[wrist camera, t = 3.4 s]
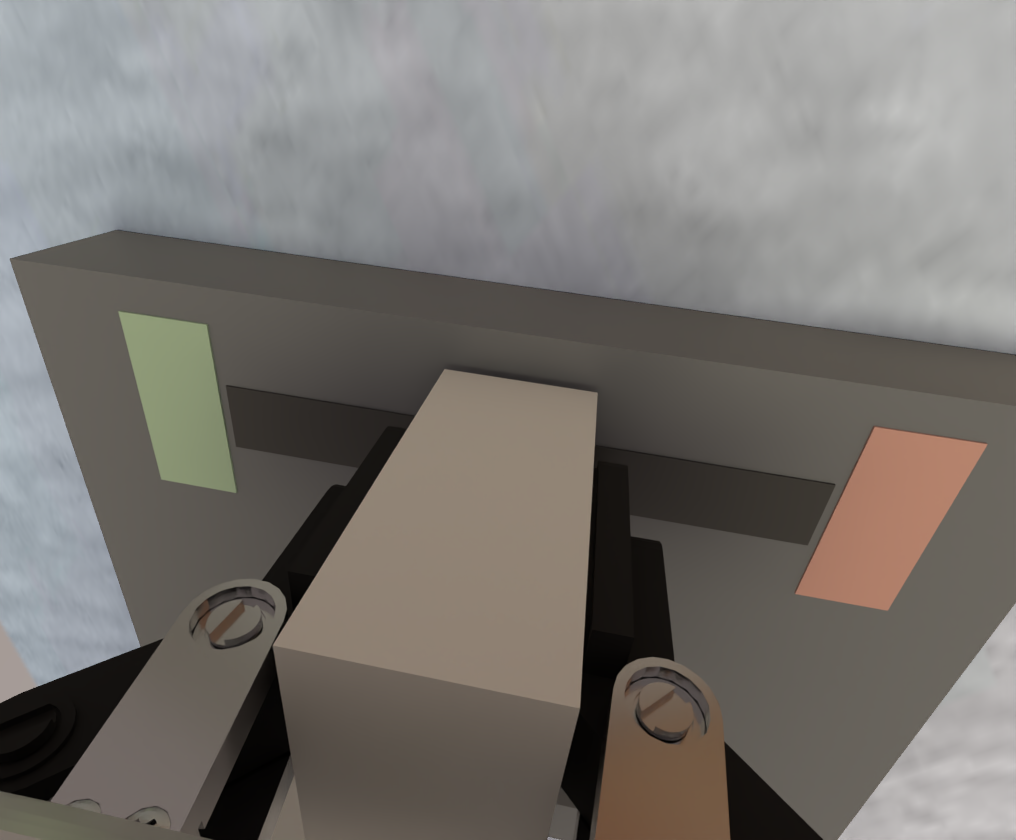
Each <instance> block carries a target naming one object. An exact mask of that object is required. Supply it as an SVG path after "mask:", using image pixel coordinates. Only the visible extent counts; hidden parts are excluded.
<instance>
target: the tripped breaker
mask: <svg viewBox="0 0 1016 840" xmlns="http://www.w3.org/2000/svg"><path fill="white" fill-rule="evenodd" d="M597 396H598V393H597V392H590V391H584V390H577V389H571V388H564V387H558V386H551V385H545V384H538V383H532V382H525V381H519V380H512V379H506V378H500V377H493V376H487V375H480V374H474V373H467V372H461V371H454V370H448V369H444V371H443V372H442V374H441V376H440V377H439V379H438V380H437V382H436V384H435V385H434V387H433V388H432V390H431V392H430V393H429V395H428V396H427V398H426V400H425V401H424V403H423V404H422V406H421V408H420V409H419V411H418V412H417V414H416V416H415V417H414V419H413V421H412V422H411V424H410V425H409V427H408V429H407V430H406V432H405V433H404V435H403V437H402V438H401V440H400V441H399V443H398V445H397V446H396V448H395V449H394V451H393V453H392V454H391V456H390V458H389V459H388V461H387V462H386V464H385V466H384V467H383V469H382V470H381V472H380V474H379V475H378V477H377V478H376V480H375V482H374V483H373V485H372V486H371V488H370V490H369V491H368V493H367V495H366V496H365V498H364V499H363V501H362V503H361V504H360V506H359V507H358V509H357V511H356V512H355V514H354V515H353V517H352V519H351V520H350V522H349V523H348V525H347V527H346V528H345V530H344V531H343V533H342V535H341V536H340V538H339V540H338V541H337V543H336V544H335V546H334V548H333V549H332V551H331V552H330V554H329V556H328V557H327V559H326V560H325V562H324V564H323V565H322V567H321V568H320V570H319V572H318V573H317V575H316V577H315V578H314V580H313V581H312V583H311V585H310V586H309V588H308V589H307V591H306V593H305V594H304V596H303V597H302V599H301V601H300V602H299V604H298V605H297V607H296V609H295V610H294V612H293V613H292V615H291V617H290V618H289V620H288V622H287V623H286V625H285V626H284V628H283V630H282V631H281V633H280V634H279V636H278V638H277V639H276V641H275V642H274V644H273V650H274V656H275V662H276V668H277V674H278V680H279V686H280V692H281V698H282V704H283V710H284V716H285V722H286V728H287V734H288V740H289V746H290V752H291V758H292V764H293V770H294V776H295V782H296V788H297V794H298V800H299V806H300V812H301V818H302V824H303V830H304V836H305V840H547V838H548V834H549V830H550V826H551V822H552V818H553V814H554V810H555V806H556V802H557V798H558V794H559V790H560V786H561V782H562V778H563V774H564V770H565V766H566V762H567V758H568V754H569V750H570V746H571V742H572V738H573V734H574V730H575V726H576V722H577V718H578V714H579V710H580V700H581V682H582V664H583V646H584V628H585V610H586V593H587V575H588V557H589V539H590V521H591V503H592V485H593V468H594V450H595V432H596V414H597Z"/></svg>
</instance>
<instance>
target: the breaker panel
mask: <svg viewBox="0 0 1016 840" xmlns="http://www.w3.org/2000/svg"><path fill="white" fill-rule="evenodd" d="M10 261H11V264H12V267H13V270H14V273H15V276H16V279H17V282H18V285H19V288H20V291H21V294H22V297H23V300H24V303H25V306H26V309H27V312H28V315H29V317H30V320H31V323H32V326H33V329H34V332H35V335H36V338H37V341H38V344H39V347H40V350H41V353H42V356H43V359H44V362H45V365H46V368H47V371H48V374H49V377H50V380H51V383H52V386H53V388H54V391H55V394H56V397H57V400H58V403H59V406H60V409H61V412H62V415H63V418H64V421H65V424H66V427H67V430H68V433H69V436H70V439H71V442H72V445H73V448H74V451H75V454H76V457H77V459H78V462H79V465H80V468H81V471H82V474H83V477H84V480H85V483H86V486H87V489H88V492H89V495H90V498H91V501H92V504H93V507H94V510H95V513H96V516H97V519H98V522H99V525H100V528H101V530H102V533H103V536H104V539H105V542H106V545H107V548H108V551H109V554H110V557H111V560H112V563H113V566H114V569H115V572H116V575H117V578H118V581H119V584H120V587H121V590H122V593H123V596H124V598H125V601H126V604H127V607H128V610H129V613H130V616H131V619H132V622H133V625H134V628H135V631H136V634H137V637H138V640H139V643H140V646H141V647H142V646H145V645H147V644H150V643H153V642H155V641H158V640H160V639H163V638H165V636H166V635H167V633H168V632H169V630H170V629H171V627H172V626H173V625H174V623H175V622H176V620H177V619H178V617H179V616H180V615H181V613H182V612H183V610H184V609H185V608H186V607H187V606H188V605H189V604H190V603H191V602H192V600H193V599H194V598H196V597H197V596H199V595H200V594H202V593H203V592H205V591H206V590H208V589H210V588H212V587H214V586H217V585H219V584H221V583H224V582H229V581H233V580H238V579H257V580H263V578H264V577H265V575H266V574H267V573H268V571H269V570H270V569H271V567H272V566H273V564H274V563H275V562H276V560H277V559H278V558H279V556H280V555H281V553H282V552H283V551H284V549H285V548H286V547H287V545H288V544H289V542H290V541H291V540H292V538H293V537H294V536H295V534H296V533H297V531H298V530H299V529H300V527H301V526H302V525H303V523H304V522H305V520H306V519H307V518H308V516H309V515H310V514H311V512H312V511H313V509H314V508H315V507H316V505H317V504H318V503H319V501H320V500H321V498H322V497H323V496H324V494H325V493H326V492H327V490H328V489H329V488H330V487H331V486H333V485H335V484H338V485H343V486H346V485H347V484H348V482H349V481H350V480H351V478H352V477H353V475H354V474H355V472H356V471H357V469H358V468H359V466H360V465H361V464H362V462H363V461H364V459H365V458H366V456H367V455H368V453H369V452H370V450H371V449H372V448H373V446H374V445H375V443H376V442H377V440H378V439H379V437H380V436H381V434H382V433H383V432H384V430H385V429H386V428H387V426H394V427H400V428H406V429H408V427H409V425H410V424H411V422H412V421H413V419H414V417H415V416H416V414H417V412H418V411H419V409H420V408H421V406H422V404H423V403H424V401H425V400H426V398H427V396H428V395H429V393H430V392H431V390H432V388H433V387H434V385H435V384H436V382H437V380H438V379H439V377H440V376H441V374H442V372H443V371H444V369H448V370H454V371H461V372H467V373H474V374H480V375H487V376H493V377H500V378H506V379H512V380H519V381H525V382H532V383H538V384H545V385H551V386H558V387H564V388H571V389H577V390H584V391H590V392H597V393H598V396H597V414H596V432H595V450H594V467H597V463H598V461H599V460H600V461H606V462H612V463H618V464H624V465H628V478H629V506H630V534H631V536H633V537H639V538H644V539H650V540H656V541H660V542H661V544H662V548H663V556H664V566H665V575H666V585H667V594H668V603H669V613H670V622H671V632H672V641H673V651H674V660H675V662H676V663H679V664H681V665H684V666H685V667H687V668H688V669H690V670H691V671H692V672H694V673H695V674H697V675H698V676H699V677H700V678H701V679H702V680H703V681H704V682H705V683H706V684H707V685H708V686H709V687H710V689H711V690H712V692H713V694H714V696H715V697H716V699H717V701H718V703H719V705H720V710H721V714H722V718H723V731H724V741H725V742H726V743H727V744H728V745H729V746H730V747H731V748H732V749H733V750H734V751H735V752H736V753H737V754H738V755H739V756H740V757H741V758H742V759H743V760H744V761H745V762H746V763H747V764H748V765H749V766H750V767H751V768H752V769H753V770H754V771H755V772H756V773H757V774H758V775H759V776H760V777H761V778H762V779H763V780H764V781H765V782H766V783H767V784H768V785H769V786H770V787H771V788H772V789H773V790H774V791H775V792H776V793H777V794H778V795H779V796H780V797H781V798H782V799H783V800H784V801H785V802H786V803H787V804H788V805H789V806H790V807H791V808H792V809H793V810H794V811H795V812H796V813H797V814H798V815H799V816H800V817H801V818H802V819H803V820H804V821H805V822H806V823H807V824H808V825H809V826H810V827H811V828H812V829H813V830H814V831H815V832H816V833H817V834H818V835H819V836H820V837H821V838H822V839H823V840H837V839H838V838H839V837H840V835H841V834H842V833H843V831H844V830H845V829H846V827H847V826H848V825H849V823H850V822H851V821H852V819H853V818H854V817H855V815H856V814H857V813H858V811H859V810H860V809H861V807H862V806H863V805H864V803H865V802H866V801H867V799H868V798H869V797H870V796H871V794H872V793H873V792H874V790H875V789H876V788H877V786H878V785H879V784H880V782H881V781H882V780H883V778H884V777H885V776H886V774H887V773H888V772H889V770H890V769H891V768H892V766H893V765H894V764H895V762H896V761H897V760H898V758H899V757H900V756H901V754H902V753H903V752H904V750H905V749H906V748H907V746H908V745H909V744H910V742H911V741H912V740H913V738H914V737H915V736H916V734H917V733H918V732H919V730H920V729H921V728H922V726H923V725H924V724H925V722H926V721H927V720H928V718H929V717H930V716H931V714H932V713H933V712H934V710H935V709H936V708H937V707H938V705H939V704H940V703H941V701H942V700H943V699H944V697H945V696H946V695H947V693H948V692H949V691H950V689H951V688H952V687H953V685H954V684H955V683H956V681H957V680H958V679H959V677H960V676H961V675H962V673H963V672H964V671H965V669H966V668H967V667H968V665H969V664H970V663H971V661H972V660H973V659H974V657H975V656H976V655H977V653H978V652H979V651H980V649H981V648H982V647H983V645H984V644H985V643H986V641H987V640H988V639H989V637H990V636H991V635H992V633H993V632H994V631H995V629H996V628H997V627H998V625H999V624H1000V623H1001V621H1002V620H1003V619H1004V618H1005V616H1006V615H1007V614H1008V612H1009V611H1010V610H1011V608H1012V607H1013V606H1014V604H1015V603H1016V355H1012V354H1004V353H997V352H990V351H983V350H976V349H968V348H961V347H954V346H947V345H940V344H932V343H925V342H918V341H911V340H904V339H896V338H889V337H882V336H875V335H868V334H860V333H853V332H846V331H839V330H832V329H824V328H817V327H810V326H803V325H796V324H788V323H781V322H774V321H767V320H760V319H752V318H745V317H738V316H731V315H724V314H716V313H709V312H702V311H695V310H688V309H680V308H673V307H666V306H659V305H652V304H644V303H637V302H630V301H623V300H616V299H608V298H601V297H594V296H587V295H580V294H572V293H565V292H558V291H551V290H544V289H536V288H529V287H522V286H515V285H508V284H500V283H493V282H486V281H479V280H472V279H464V278H457V277H450V276H443V275H436V274H428V273H421V272H414V271H407V270H400V269H392V268H385V267H378V266H371V265H364V264H356V263H349V262H342V261H335V260H328V259H320V258H313V257H306V256H299V255H292V254H284V253H277V252H270V251H263V250H256V249H248V248H241V247H234V246H227V245H220V244H212V243H205V242H198V241H191V240H184V239H176V238H169V237H162V236H155V235H148V234H140V233H133V232H126V231H119V230H114V231H111V232H107V233H103V234H100V235H96V236H92V237H88V238H85V239H81V240H77V241H73V242H70V243H66V244H62V245H59V246H55V247H51V248H47V249H44V250H40V251H36V252H33V253H29V254H25V255H21V256H18V257H14V258H10ZM577 811H578V810H577V808H576V807H575V805H574V804H573V803H572V801H571V800H570V799H569V797H568V796H567V794H566V793H565V792H564V790H563V789H562V788H561V786H560V790H559V794H558V798H557V802H556V806H555V810H554V814H553V818H552V822H551V826H550V830H549V834H548V837H552V838H556V839H561V840H573V837H574V830H575V823H576V817H577Z"/></svg>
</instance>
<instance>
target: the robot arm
mask: <svg viewBox="0 0 1016 840" xmlns="http://www.w3.org/2000/svg"><path fill="white" fill-rule="evenodd" d="M406 430H407V429H406V428H400V427H394V426H387V428H386V429H385V430H384V432H383V433H382V434H381V436H380V437H379V439H378V440H377V442H376V443H375V445H374V446H373V448H372V449H371V450H370V452H369V453H368V455H367V456H366V458H365V459H364V461H363V462H362V464H361V465H360V466H359V468H358V469H357V471H356V472H355V474H354V475H353V477H352V478H351V480H350V481H349V482H348V484H347V485H346V486H343V485H338V484H335V485H333V486H331V487H330V488H329V489H328V490H327V492H326V493H325V494H324V496H323V497H322V498H321V500H320V501H319V503H318V504H317V505H316V507H315V508H314V509H313V511H312V512H311V514H310V515H309V516H308V518H307V519H306V520H305V522H304V523H303V525H302V526H301V527H300V529H299V530H298V531H297V533H296V534H295V536H294V537H293V538H292V540H291V541H290V542H289V544H288V545H287V547H286V548H285V549H284V551H283V552H282V553H281V555H280V556H279V558H278V559H277V560H276V562H275V563H274V564H273V566H272V567H271V569H270V570H269V571H268V573H267V574H266V575H265V577H264V578H263V580H257V579H238V580H233V581H229V582H224V583H221V584H219V585H217V586H214V587H212V588H210V589H208V590H206V591H205V592H203V593H202V594H200V595H199V596H197V597H196V598H194V599H193V600H192V602H191V603H190V604H189V605H188V606H187V607H186V608H185V609H184V610H183V612H182V613H181V615H180V616H179V617H178V619H177V620H176V622H175V623H174V625H173V626H172V627H171V629H170V630H169V632H168V633H167V635H166V636H165V638H163V639H160V640H158V641H155V642H153V643H150V644H147V645H145V646H142V647H140V648H137V649H134V650H132V651H129V652H127V653H124V654H121V655H119V656H116V657H114V658H111V659H108V660H106V661H103V662H101V663H98V664H95V665H93V666H90V667H88V668H85V669H82V670H80V671H77V672H75V673H72V674H69V675H67V676H64V677H62V678H59V679H56V680H54V681H51V682H49V683H46V684H43V685H41V686H38V687H36V688H33V689H31V690H28V691H25V692H23V693H21V694H18V695H16V696H14V697H12V698H10V699H8V700H6V701H4V702H2V703H0V840H271V837H272V834H273V832H274V829H275V826H276V823H277V821H278V818H279V815H280V812H281V810H282V807H283V804H284V802H285V799H286V796H287V793H288V791H289V788H290V785H291V782H292V780H293V777H294V770H293V764H292V758H291V752H290V746H289V740H288V734H287V728H286V722H285V716H284V710H283V704H282V698H281V692H280V686H279V680H278V674H277V668H276V662H275V656H274V650H273V644H274V642H275V641H276V639H277V638H278V636H279V634H280V633H281V631H282V630H283V628H284V626H285V625H286V623H287V622H288V620H289V618H290V617H291V615H292V613H293V612H294V610H295V609H296V607H297V605H298V604H299V602H300V601H301V599H302V597H303V596H304V594H305V593H306V591H307V589H308V588H309V586H310V585H311V583H312V581H313V580H314V578H315V577H316V575H317V573H318V572H319V570H320V568H321V567H322V565H323V564H324V562H325V560H326V559H327V557H328V556H329V554H330V552H331V551H332V549H333V548H334V546H335V544H336V543H337V541H338V540H339V538H340V536H341V535H342V533H343V531H344V530H345V528H346V527H347V525H348V523H349V522H350V520H351V519H352V517H353V515H354V514H355V512H356V511H357V509H358V507H359V506H360V504H361V503H362V501H363V499H364V498H365V496H366V495H367V493H368V491H369V490H370V488H371V486H372V485H373V483H374V482H375V480H376V478H377V477H378V475H379V474H380V472H381V470H382V469H383V467H384V466H385V464H386V462H387V461H388V459H389V458H390V456H391V454H392V453H393V451H394V449H395V448H396V446H397V445H398V443H399V441H400V440H401V438H402V437H403V435H404V433H405V432H406ZM561 788H562V789H563V790H564V792H565V793H566V794H567V796H568V797H569V799H570V800H571V801H572V803H573V804H574V805H575V807H576V808H577V810H578V811H577V817H576V823H575V830H574V837H573V840H823V839H822V838H821V837H820V836H819V835H818V834H817V833H816V832H815V831H814V830H813V829H812V828H811V827H810V826H809V825H808V824H807V823H806V822H805V821H804V820H803V819H802V818H801V817H800V816H799V815H798V814H797V813H796V812H795V811H794V810H793V809H792V808H791V807H790V806H789V805H788V804H787V803H786V802H785V801H784V800H783V799H782V798H781V797H780V796H779V795H778V794H777V793H776V792H775V791H774V790H773V789H772V788H771V787H770V786H769V785H768V784H767V783H766V782H765V781H764V780H763V779H762V778H761V777H760V776H759V775H758V774H757V773H756V772H755V771H754V770H753V769H752V768H751V767H750V766H749V765H748V764H747V763H746V762H745V761H744V760H743V759H742V758H741V757H740V756H739V755H738V754H737V753H736V752H735V751H734V750H733V749H732V748H731V747H730V746H729V745H728V744H727V743H726V742H725V741H724V731H723V718H722V714H721V710H720V705H719V703H718V701H717V699H716V697H715V696H714V694H713V692H712V690H711V689H710V687H709V686H708V685H707V684H706V683H705V682H704V681H703V680H702V679H701V678H700V677H699V676H698V675H697V674H695V673H694V672H692V671H691V670H690V669H688V668H687V667H685V666H684V665H681V664H679V663H676V662H675V660H674V651H673V641H672V632H671V622H670V613H669V603H668V594H667V585H666V575H665V566H664V556H663V548H662V544H661V542H660V541H656V540H650V539H644V538H639V537H633V536H631V534H630V506H629V478H628V465H624V464H618V463H612V462H606V461H600V460H599V461H598V463H597V467H594V468H593V485H592V503H591V521H590V539H589V557H588V575H587V593H586V610H585V628H584V646H583V664H582V682H581V700H580V710H579V714H578V718H577V722H576V726H575V730H574V734H573V738H572V742H571V746H570V750H569V754H568V758H567V762H566V766H565V770H564V774H563V778H562V782H561Z"/></svg>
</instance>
